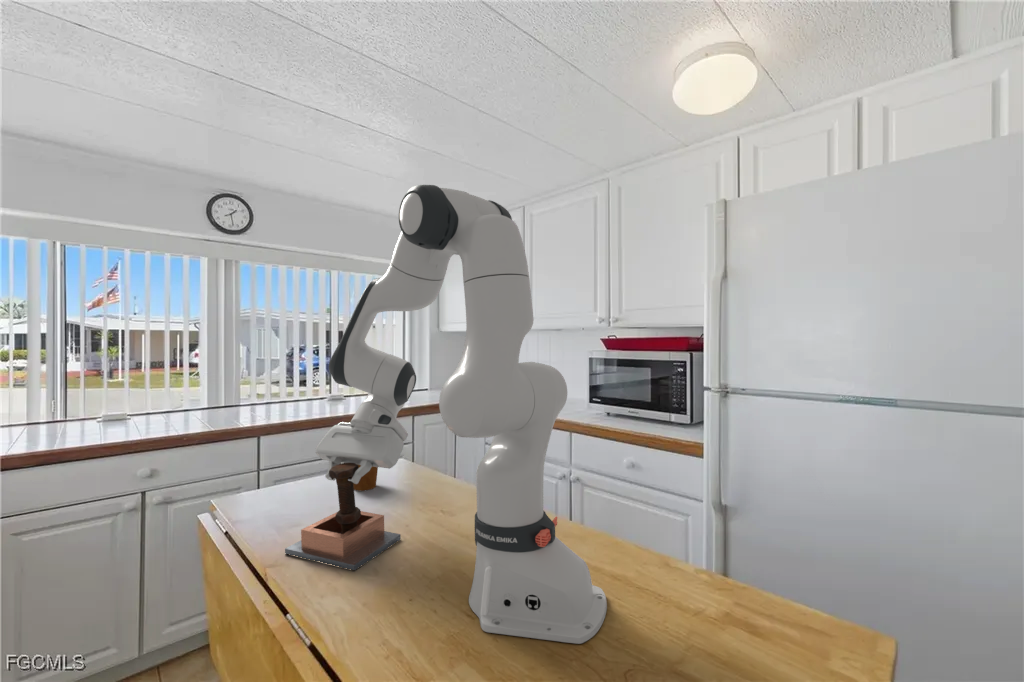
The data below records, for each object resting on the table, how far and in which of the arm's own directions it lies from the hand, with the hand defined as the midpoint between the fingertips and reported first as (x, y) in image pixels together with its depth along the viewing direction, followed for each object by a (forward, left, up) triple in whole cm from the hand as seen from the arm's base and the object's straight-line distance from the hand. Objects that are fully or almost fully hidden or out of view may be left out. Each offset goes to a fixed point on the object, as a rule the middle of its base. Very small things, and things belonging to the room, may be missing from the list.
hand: (340, 480), depth 94 cm
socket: (0, -1, -14) cm, 14 cm away
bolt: (-1, -2, -12) cm, 12 cm away
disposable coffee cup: (+22, -32, -14) cm, 41 cm away
